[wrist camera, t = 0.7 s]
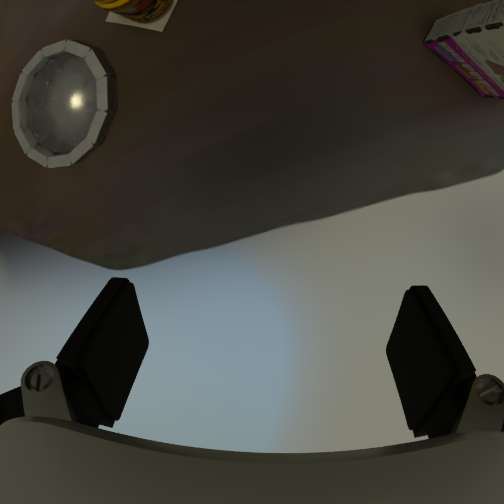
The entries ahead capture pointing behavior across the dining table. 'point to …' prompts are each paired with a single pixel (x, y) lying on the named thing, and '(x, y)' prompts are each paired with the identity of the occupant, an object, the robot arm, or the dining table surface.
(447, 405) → the robot arm
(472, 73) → the candy bar box
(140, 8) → the condiment
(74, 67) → the faceted plate
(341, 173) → the dining table surface
